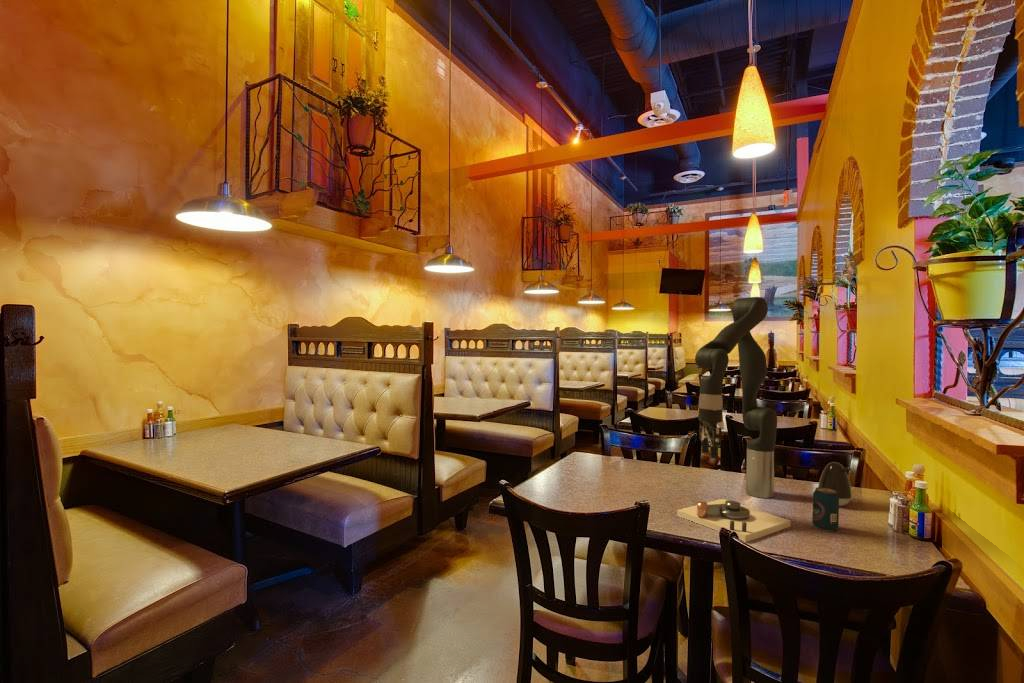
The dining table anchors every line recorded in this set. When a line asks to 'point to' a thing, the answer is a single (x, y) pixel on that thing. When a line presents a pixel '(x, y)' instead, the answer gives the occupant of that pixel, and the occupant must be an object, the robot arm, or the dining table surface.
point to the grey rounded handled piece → (723, 510)
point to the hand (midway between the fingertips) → (709, 455)
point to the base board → (738, 522)
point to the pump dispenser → (837, 481)
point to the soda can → (825, 509)
